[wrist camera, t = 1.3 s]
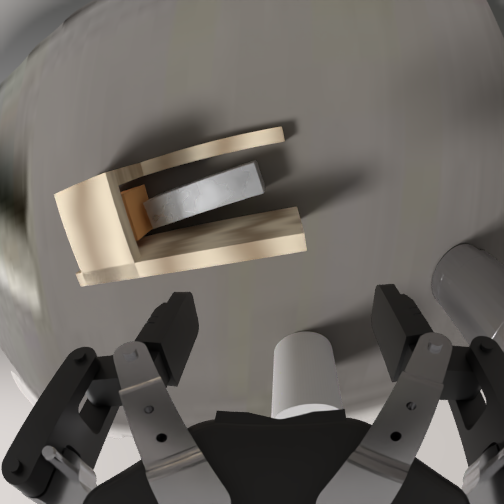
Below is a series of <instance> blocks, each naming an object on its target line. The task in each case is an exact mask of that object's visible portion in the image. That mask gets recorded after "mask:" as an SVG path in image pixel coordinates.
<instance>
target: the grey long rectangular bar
mask: <svg viewBox="0 0 504 504" xmlns="http://www.w3.org/2000/svg"><path fill="white" fill-rule="evenodd" d="M264 191H265V185H264V182H263V179H262V176H261V172H260V169H259V166H258V163H257V160H254V161H251V162H248V163H245V164H242V165H239V166H236V167H233V168H230V169H227V170H224V171H221V172H218V173H215V174H212V175H209V176H206V177H204V178H201V179H198V180H195V181H192V182H190V183H187V184H184V185H182V186H179V187H176V188H174V189H171V190H169V191H166V192H164V193H161V194H159V195H156V196H154V197H152V198H150V199H149V200H147V201H145V202H143V205H144V207H145V210H146V212H147V215H148V217H149V220H150V222H151V224H152V227H153V229H155V228H158V227H161V226H164V225H167V224H170V223H173V222H175V221H178V220H181V219H184V218H187V217H190V216H193V215H196V214H199V213H202V212H205V211H208V210H211V209H214V208H218V207H221V206H224V205H227V204H230V203H233V202H237V201H240V200H243V199H246V198H250V197H253V196H256V195H260V194H263V193H264Z"/></svg>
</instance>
